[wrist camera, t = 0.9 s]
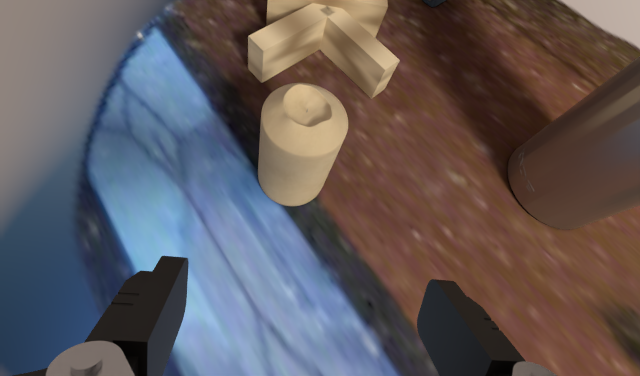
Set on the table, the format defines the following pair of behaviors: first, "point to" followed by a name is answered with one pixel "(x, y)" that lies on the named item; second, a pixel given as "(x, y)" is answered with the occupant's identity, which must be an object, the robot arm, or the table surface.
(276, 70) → the letter k block
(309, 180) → the candle
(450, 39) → the table surface
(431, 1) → the vaping device
